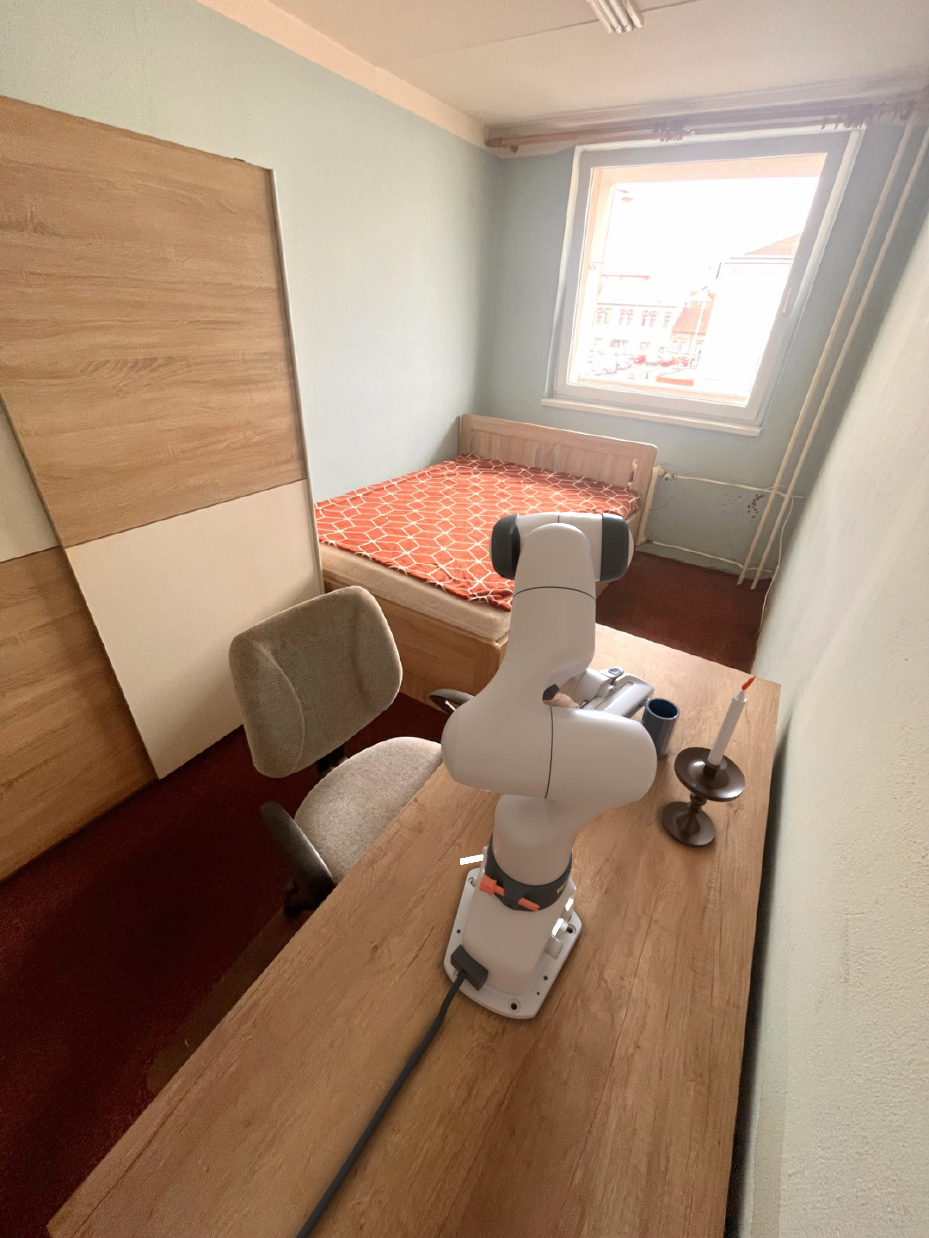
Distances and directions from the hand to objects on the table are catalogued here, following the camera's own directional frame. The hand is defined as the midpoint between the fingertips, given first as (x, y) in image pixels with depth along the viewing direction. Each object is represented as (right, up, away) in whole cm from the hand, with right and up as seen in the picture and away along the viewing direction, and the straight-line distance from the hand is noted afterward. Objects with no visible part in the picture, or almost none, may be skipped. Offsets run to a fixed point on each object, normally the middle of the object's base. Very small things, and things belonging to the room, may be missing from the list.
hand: (651, 724), depth 106 cm
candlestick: (+1, -16, -14) cm, 21 cm away
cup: (+1, -5, +3) cm, 6 cm away
